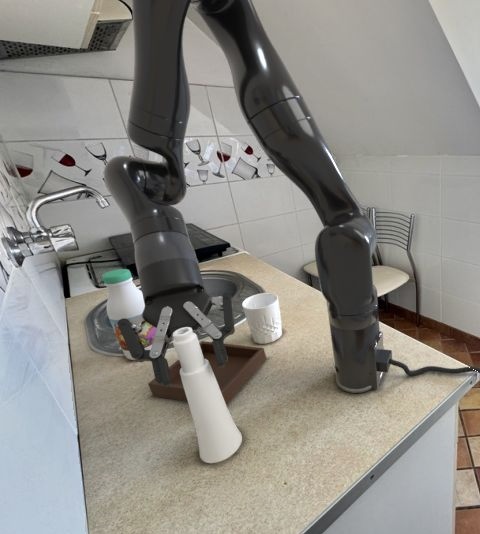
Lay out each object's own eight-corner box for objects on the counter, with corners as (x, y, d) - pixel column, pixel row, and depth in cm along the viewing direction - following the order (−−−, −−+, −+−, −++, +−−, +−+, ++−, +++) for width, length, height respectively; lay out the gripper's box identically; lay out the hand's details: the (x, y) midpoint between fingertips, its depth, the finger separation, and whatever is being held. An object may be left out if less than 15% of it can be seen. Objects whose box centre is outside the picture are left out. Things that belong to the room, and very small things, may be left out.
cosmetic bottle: (208, 433, 54) (167, 321, 45) (246, 427, 55) (214, 316, 46) (193, 467, 48) (145, 347, 40) (236, 459, 50) (198, 341, 41)
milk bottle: (123, 350, 75) (89, 272, 67) (163, 336, 80) (135, 262, 72) (128, 366, 70) (91, 283, 62) (170, 350, 75) (141, 272, 67)
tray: (266, 359, 71) (263, 347, 70) (224, 407, 59) (220, 394, 58) (205, 352, 74) (202, 340, 73) (153, 396, 62) (147, 383, 61)
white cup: (273, 347, 75) (265, 310, 71) (243, 343, 77) (234, 307, 73) (290, 328, 82) (284, 294, 79) (263, 325, 84) (255, 291, 80)
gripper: (97, 269, 42) (120, 396, 37) (220, 247, 49) (251, 350, 45) (117, 290, 48) (138, 401, 44) (224, 268, 55) (251, 361, 51)
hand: (195, 375), depth 44 cm, fingers open, 5 cm apart
